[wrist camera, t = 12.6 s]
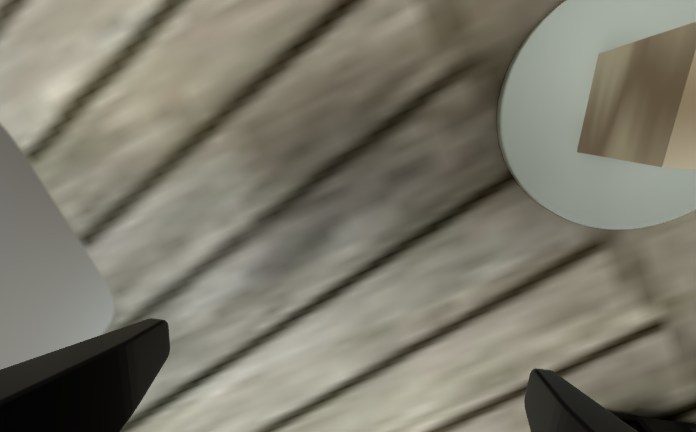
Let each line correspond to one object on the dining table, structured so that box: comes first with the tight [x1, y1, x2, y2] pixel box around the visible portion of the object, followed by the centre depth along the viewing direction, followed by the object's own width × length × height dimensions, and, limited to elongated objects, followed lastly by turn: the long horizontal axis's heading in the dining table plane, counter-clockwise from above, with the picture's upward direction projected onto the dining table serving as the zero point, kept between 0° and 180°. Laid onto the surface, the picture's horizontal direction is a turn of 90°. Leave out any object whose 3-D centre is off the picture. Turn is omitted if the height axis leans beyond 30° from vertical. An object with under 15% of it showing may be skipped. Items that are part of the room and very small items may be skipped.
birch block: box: [577, 22, 696, 170], centre depth 14 cm, size 4×4×6 cm
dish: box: [497, 0, 696, 230], centre depth 18 cm, size 12×12×1 cm
